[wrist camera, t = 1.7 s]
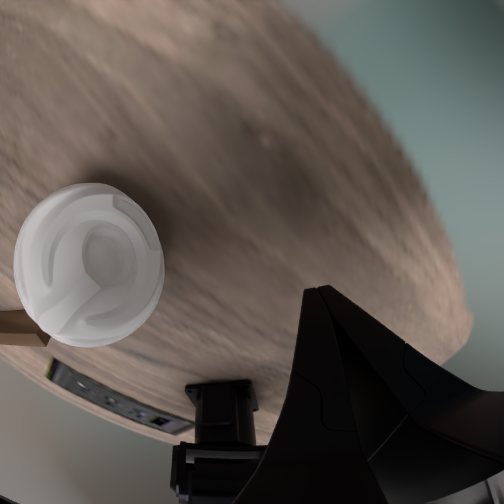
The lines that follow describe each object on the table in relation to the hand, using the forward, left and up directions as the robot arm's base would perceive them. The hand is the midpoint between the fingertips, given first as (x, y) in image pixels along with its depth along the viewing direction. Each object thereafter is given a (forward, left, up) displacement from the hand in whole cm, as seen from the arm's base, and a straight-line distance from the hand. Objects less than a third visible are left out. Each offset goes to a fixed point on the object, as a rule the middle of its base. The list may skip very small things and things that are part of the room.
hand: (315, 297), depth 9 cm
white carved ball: (0, +10, -8) cm, 13 cm away
